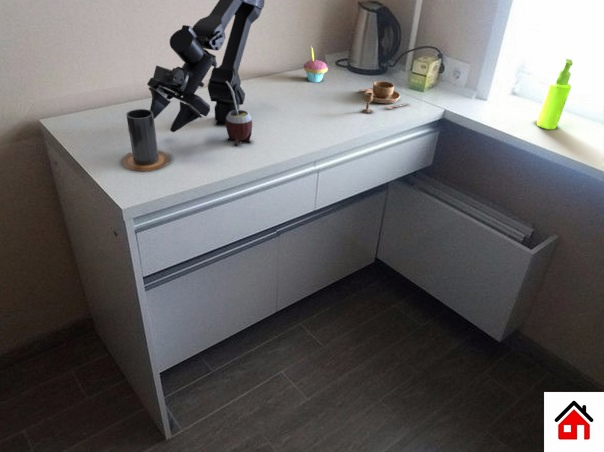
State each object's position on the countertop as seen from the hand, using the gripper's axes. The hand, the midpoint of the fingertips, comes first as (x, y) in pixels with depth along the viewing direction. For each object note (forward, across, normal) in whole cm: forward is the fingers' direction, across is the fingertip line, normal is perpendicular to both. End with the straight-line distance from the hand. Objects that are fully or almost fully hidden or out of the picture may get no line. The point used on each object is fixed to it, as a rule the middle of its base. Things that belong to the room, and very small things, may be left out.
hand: (160, 125), depth 121 cm
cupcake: (-47, -15, +59) cm, 77 cm away
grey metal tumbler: (+9, 0, +2) cm, 9 cm away
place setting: (-47, +12, +59) cm, 76 cm away
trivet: (+9, 0, +2) cm, 9 cm away
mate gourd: (-8, +6, +20) cm, 22 cm away
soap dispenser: (-65, +61, +76) cm, 117 cm away
